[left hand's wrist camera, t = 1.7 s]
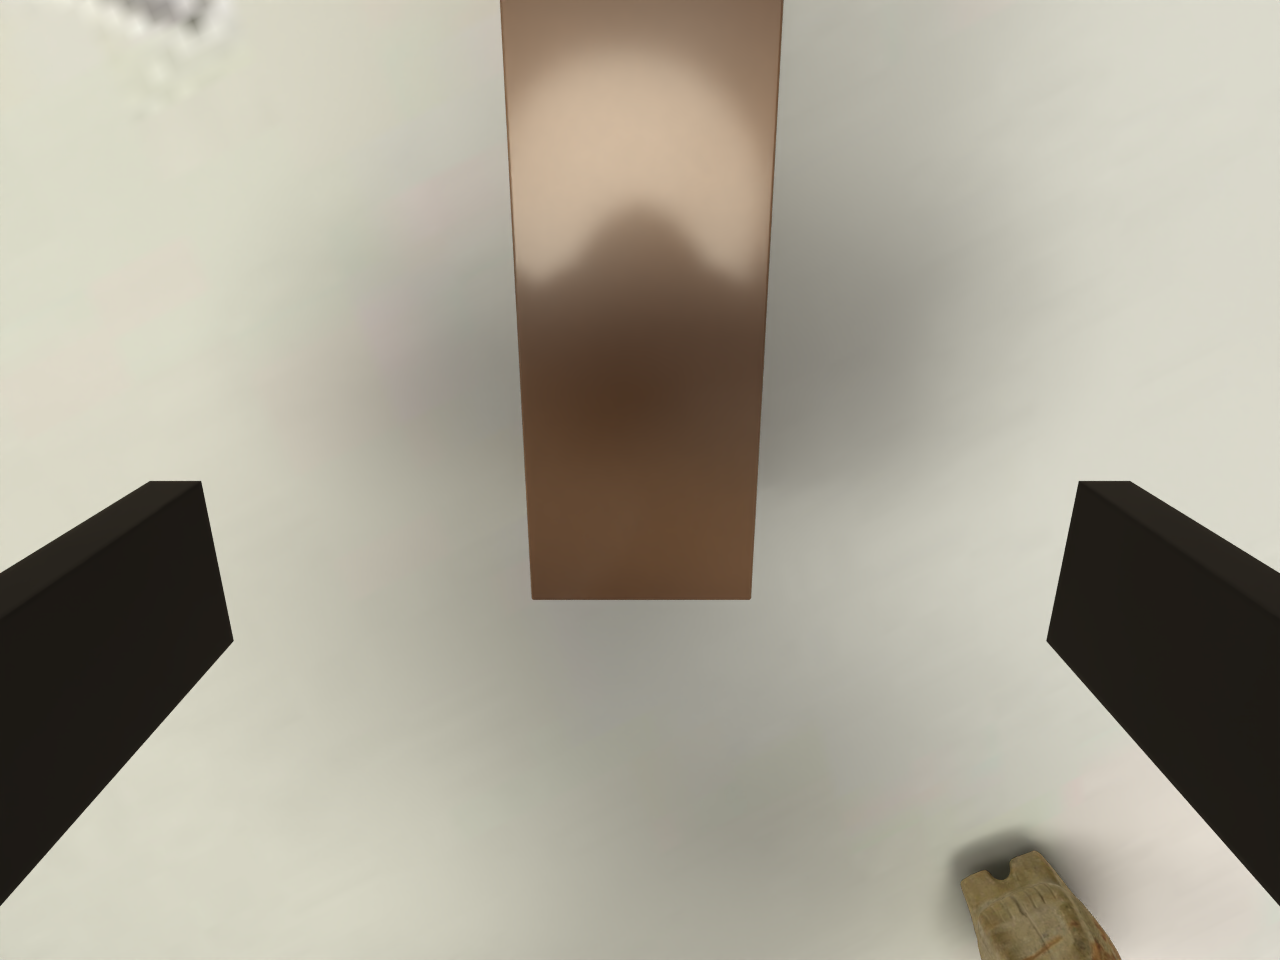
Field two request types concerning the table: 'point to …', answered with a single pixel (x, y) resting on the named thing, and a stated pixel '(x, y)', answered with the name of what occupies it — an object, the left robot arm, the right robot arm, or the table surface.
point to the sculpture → (1032, 916)
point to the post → (641, 287)
